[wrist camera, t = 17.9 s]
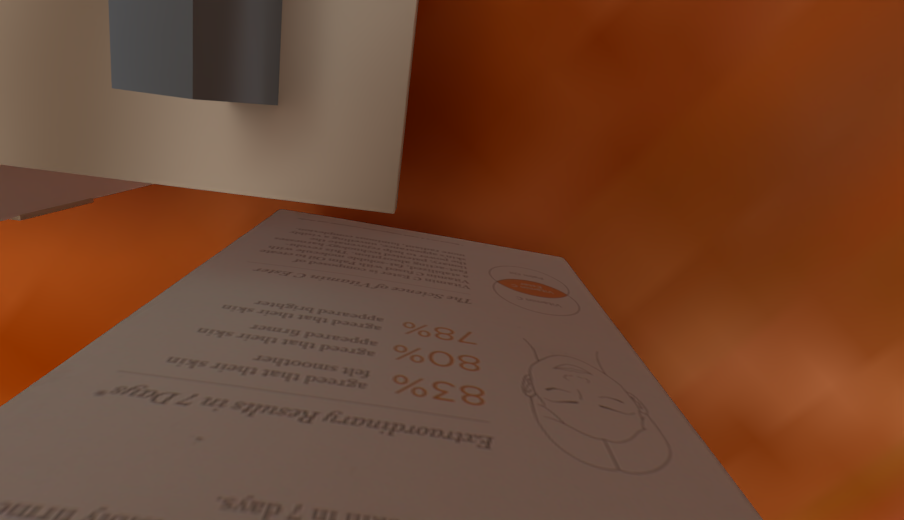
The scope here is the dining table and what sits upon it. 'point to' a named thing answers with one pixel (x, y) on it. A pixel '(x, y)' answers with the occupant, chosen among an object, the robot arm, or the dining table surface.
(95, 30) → the lid panel
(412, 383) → the small box
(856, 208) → the dining table surface
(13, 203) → the carton
